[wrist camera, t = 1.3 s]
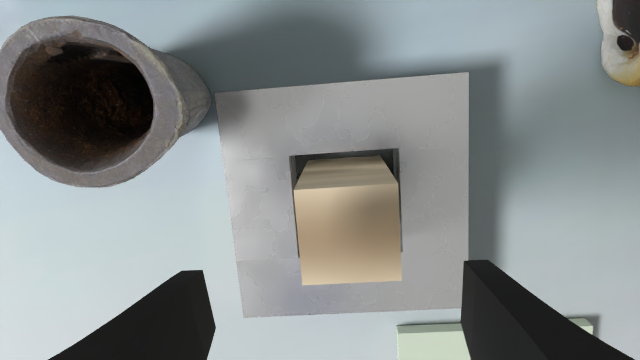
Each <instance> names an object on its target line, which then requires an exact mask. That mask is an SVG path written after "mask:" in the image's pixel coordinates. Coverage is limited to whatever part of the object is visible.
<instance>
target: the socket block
mask: <svg viewBox="0 0 640 360" xmlns="http://www.w3.org/2000/svg"><path fill="white" fill-rule="evenodd" d="M214 95H215V103H216V110H217V118H218V125H219V133H220V141H221V148H222V156H223V163H224V171H225V179H226V186H227V194H228V202H229V209H230V217H231V224H232V232H233V240H234V247H235V255H236V263H237V270H238V278H239V285H240V293H241V301H242V308H243V316H244V318H248V317H270V316H293V315H316V314H339V313H361V312H384V311H407V310H430V309H452V308H461V307H462V286H463V265H464V261H468V215H469V72H463V73H451V74H438V75H426V76H414V77H401V78H389V79H377V80H365V81H352V82H340V83H328V84H316V85H303V86H291V87H279V88H266V89H254V90H242V91H230V92H217V93H214ZM392 148H393V171H394V178H395V179H396V181H397V182H398V192H399V219H400V247H401V274H402V281H385V282H364V283H343V284H322V285H302V275H301V265H300V254H299V243H298V233H297V222H296V212H295V201H294V188H295V186H296V184H297V172H296V161H295V155H307V154H321V153H335V152H349V151H364V150H378V149H392Z"/></svg>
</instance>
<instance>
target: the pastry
mask: <svg viewBox="0 0 640 360" xmlns="http://www.w3.org/2000/svg"><path fill="white" fill-rule="evenodd" d="M597 11H598V14H599V22H600V25H601V28H602V30H603V33H604V37H603V42H602V46H601V59H602V66H603V68H604V69H605V71H606V72H607V74H608V75H609V76H610V77H611V78H612V79H613V80H615V81H617V82H619V83H621V84H624V85H627V86H639V87H640V0H597Z"/></svg>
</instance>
